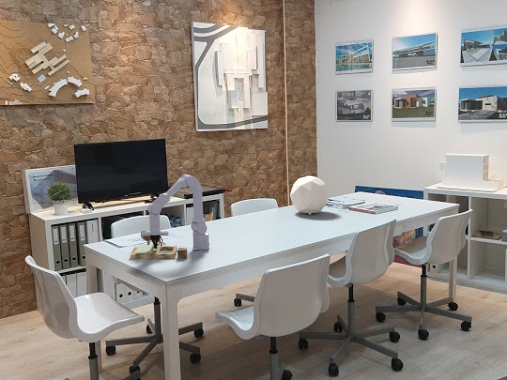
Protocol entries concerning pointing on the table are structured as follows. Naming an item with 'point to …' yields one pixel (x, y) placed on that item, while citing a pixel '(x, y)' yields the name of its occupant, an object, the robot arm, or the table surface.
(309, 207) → the geometric form
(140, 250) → the lid
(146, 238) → the lion figurine
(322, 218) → the table surface
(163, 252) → the wooden frame
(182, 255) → the walnut cube
